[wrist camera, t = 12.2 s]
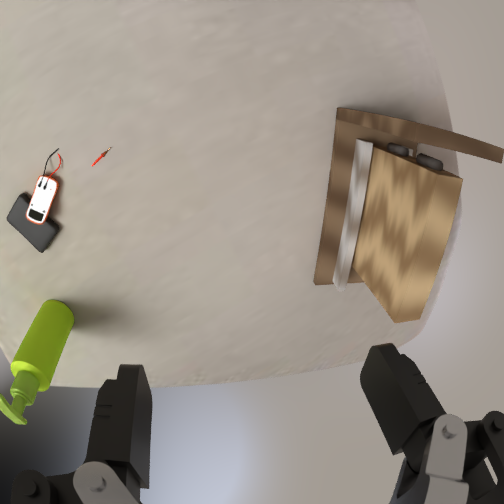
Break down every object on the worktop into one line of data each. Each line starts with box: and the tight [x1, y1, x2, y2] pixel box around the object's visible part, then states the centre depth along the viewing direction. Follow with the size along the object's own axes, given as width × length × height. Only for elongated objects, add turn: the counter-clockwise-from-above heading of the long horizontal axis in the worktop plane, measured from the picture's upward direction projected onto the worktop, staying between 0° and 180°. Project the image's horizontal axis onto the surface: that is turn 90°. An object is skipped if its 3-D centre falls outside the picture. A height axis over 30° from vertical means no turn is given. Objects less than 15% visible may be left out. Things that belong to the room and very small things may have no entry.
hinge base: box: [314, 108, 504, 291], centre depth 34 cm, size 24×12×16 cm, turn 177°
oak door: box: [351, 142, 463, 323], centre depth 33 cm, size 17×5×14 cm, turn 177°
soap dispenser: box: [0, 300, 74, 424], centre depth 33 cm, size 6×7×20 cm
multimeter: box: [7, 147, 111, 253], centre depth 32 cm, size 18×12×3 cm, turn 126°
